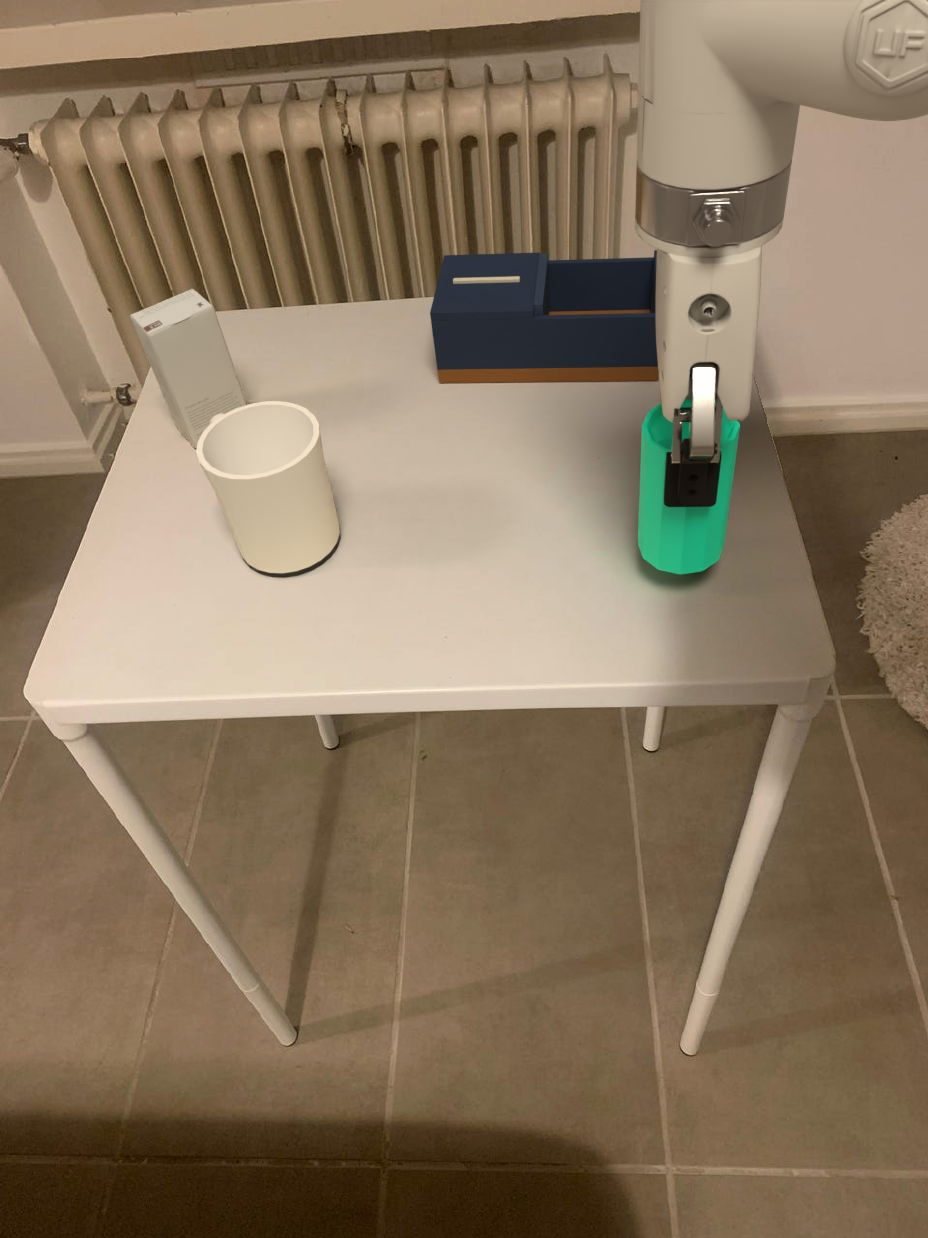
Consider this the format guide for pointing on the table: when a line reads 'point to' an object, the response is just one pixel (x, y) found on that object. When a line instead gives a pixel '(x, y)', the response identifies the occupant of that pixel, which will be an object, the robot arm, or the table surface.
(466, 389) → the table surface
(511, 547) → the table surface
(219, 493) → the mug
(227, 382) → the cosmetic box
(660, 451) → the candle
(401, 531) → the table surface
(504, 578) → the table surface
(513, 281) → the navy slotted box
